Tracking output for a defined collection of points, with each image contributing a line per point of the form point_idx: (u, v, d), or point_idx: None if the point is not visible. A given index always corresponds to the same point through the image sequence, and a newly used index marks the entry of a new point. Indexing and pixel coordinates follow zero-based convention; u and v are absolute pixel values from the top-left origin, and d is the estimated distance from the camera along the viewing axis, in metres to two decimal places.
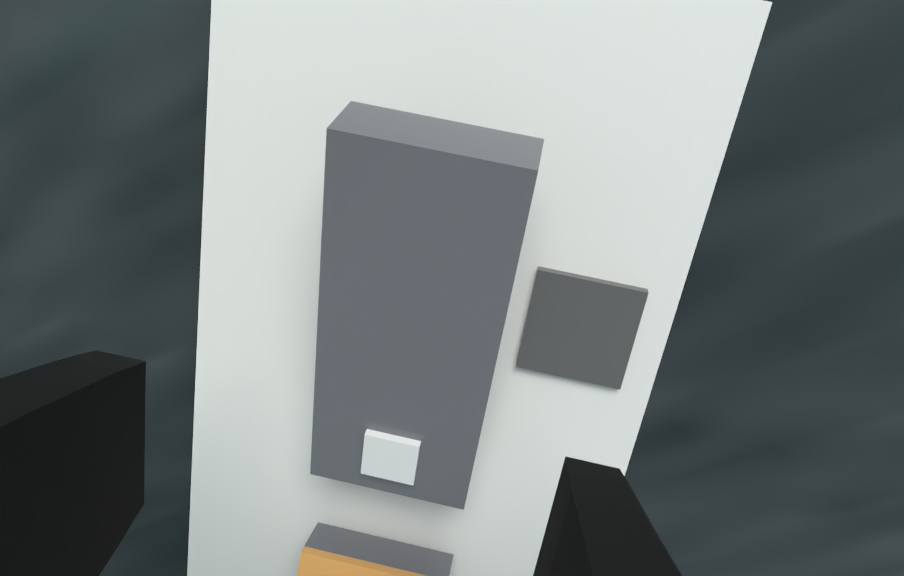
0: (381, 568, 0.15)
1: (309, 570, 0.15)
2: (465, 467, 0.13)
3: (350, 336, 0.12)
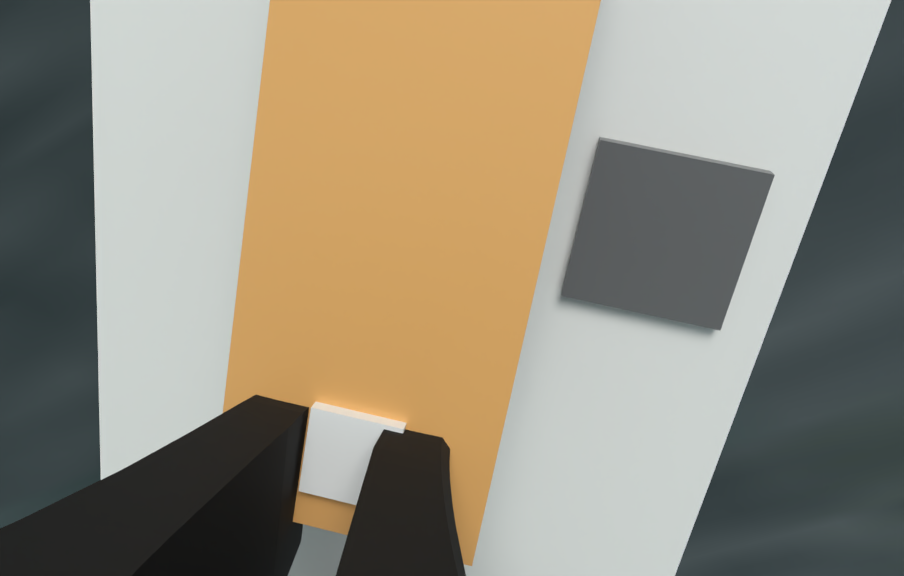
0: None
1: None
2: None
3: None
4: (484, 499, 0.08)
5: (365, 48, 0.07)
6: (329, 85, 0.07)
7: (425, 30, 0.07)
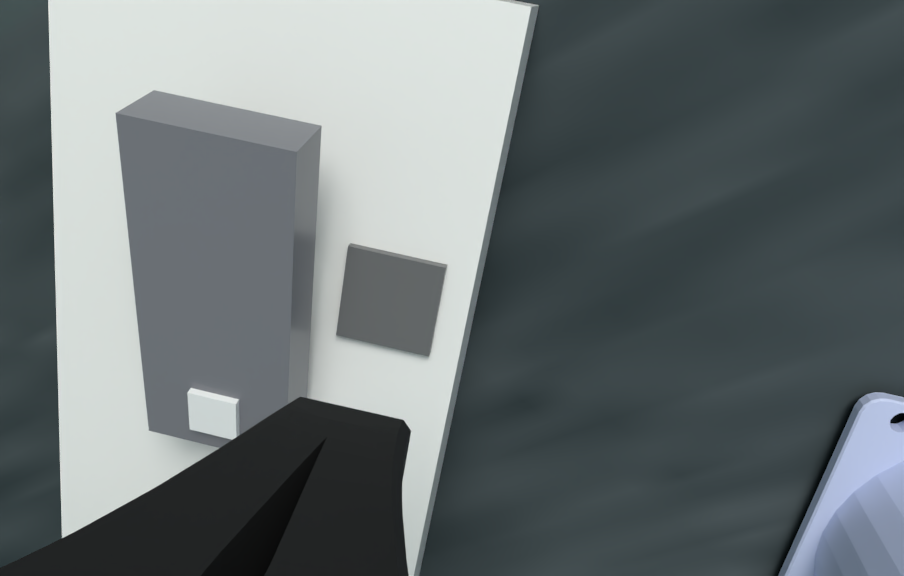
0: None
1: None
2: None
3: (163, 301, 0.14)
4: None
5: None
6: None
7: None
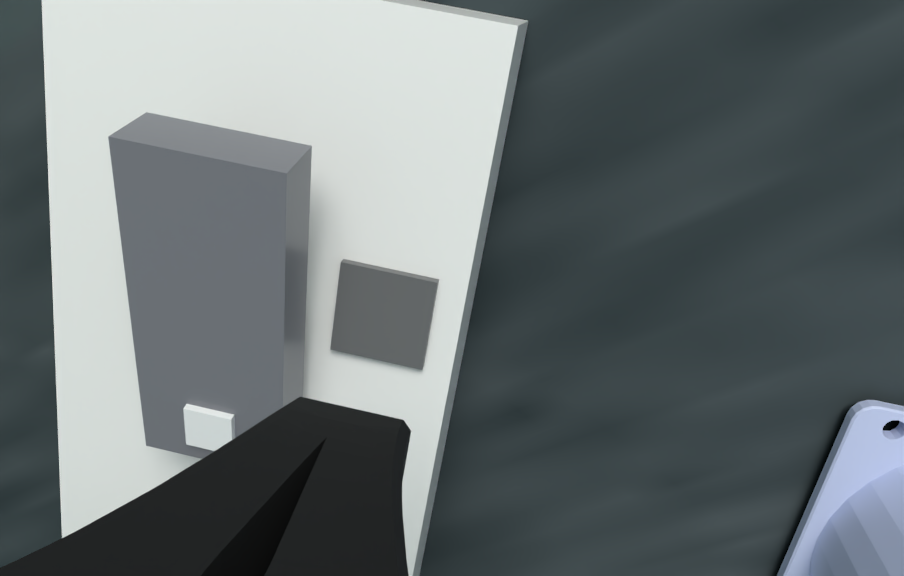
0: None
1: None
2: None
3: (158, 319, 0.14)
4: None
5: None
6: None
7: None
